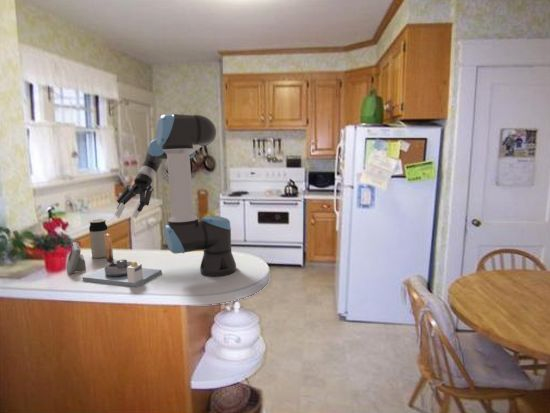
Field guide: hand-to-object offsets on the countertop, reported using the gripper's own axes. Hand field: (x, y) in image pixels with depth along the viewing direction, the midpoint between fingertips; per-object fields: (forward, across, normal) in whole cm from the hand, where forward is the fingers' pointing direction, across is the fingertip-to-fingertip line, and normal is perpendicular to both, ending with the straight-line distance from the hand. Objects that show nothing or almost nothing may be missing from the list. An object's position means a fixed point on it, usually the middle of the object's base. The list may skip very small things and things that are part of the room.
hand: (125, 216), depth 171 cm
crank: (+25, -6, -3) cm, 26 cm away
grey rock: (+25, +18, -6) cm, 32 cm away
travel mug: (+12, +21, -19) cm, 31 cm away
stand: (+27, -10, -4) cm, 29 cm away
